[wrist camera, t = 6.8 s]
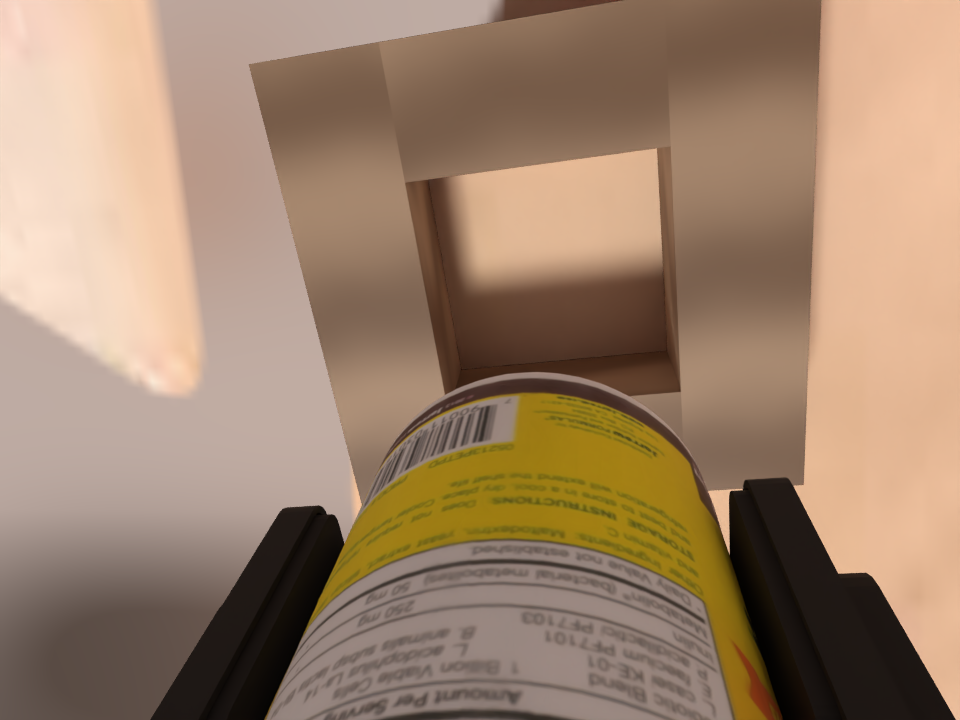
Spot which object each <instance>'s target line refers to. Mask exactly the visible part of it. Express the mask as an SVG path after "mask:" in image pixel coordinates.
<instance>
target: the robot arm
mask: <svg viewBox="0 0 960 720" xmlns="http://www.w3.org/2000/svg"><path fill="white" fill-rule="evenodd" d="M729 526H730V558H731V562H732V565H733V568H734V571H735V574H736V577H737V580H738V583H739V586H740V590H741V593H742V596H743V599H744V602H745V606H746V609H747V612H748V615H749V617H750V620H751V623H752V625H753V627H754V630H755V634H756V637H757V640H758V643H759V646H760V650H761V653H762V657H763V660H764V662H765V665H766V668H767V672H768V675H769V678H770V681H771V685H772V688H773V691H774V694H775V697H776V700H777V703H778V706H779V709H780V712H781V714H782V717H783V720H956V719H955V718H954V716H953V714H952V712H951V711H950V709H949V707H948V705H947V704H946V702H945V700H944V699H943V697H942V695H941V693H940V692H939V690H938V688H937V686H936V685H935V683H934V681H933V679H932V678H931V676H930V674H929V673H928V671H927V669H926V667H925V666H924V664H923V662H922V660H921V659H920V657H919V655H918V653H917V652H916V650H915V648H914V646H913V645H912V643H911V641H910V640H909V638H908V636H907V634H906V633H905V631H904V629H903V627H902V626H901V624H900V622H899V620H898V619H897V617H896V615H895V614H894V612H893V610H892V608H891V607H890V605H889V603H888V601H887V600H886V598H885V596H884V594H883V593H882V591H881V589H880V587H879V586H878V584H877V583H876V582H875V580H874V579H873V577H872V576H870V575H869V574H867V573H848V574H838V573H837V571H836V569H835V567H834V565H833V563H832V561H831V559H830V557H829V555H828V553H827V551H826V549H825V547H824V545H823V543H822V541H821V539H820V538H819V536H818V534H817V532H816V530H815V528H814V526H813V524H812V522H811V520H810V518H809V516H808V514H807V512H806V510H805V508H804V506H803V504H802V502H801V500H800V499H799V497H798V495H797V493H796V491H795V489H794V487H793V485H792V483H791V481H790V480H789V478H786V477H781V478H765V479H748V480H745V481H744V484H743V490H741V491H731V492H730V495H729ZM343 546H344V541H343V537H342V534H341V530H340V526H339V523H338V520H337V518H336V517H335V515H332V514H331V515H327V514H326V511H325V510H324V508H323V507H321V506H304V507H290V508H289V507H288V508H284V509H282V511H280V513H279V514H278V516H277V518H276V519H275V521H274V522H273V524H272V526H271V527H270V529H269V531H268V532H267V534H266V535H265V537H264V538H263V540H262V542H261V543H260V545H259V547H258V548H257V550H256V552H255V553H254V555H253V556H252V558H251V560H250V561H249V563H248V564H247V566H246V568H245V569H244V571H243V573H242V574H241V576H240V577H239V579H238V581H237V582H236V584H235V586H234V587H233V589H232V590H231V592H230V594H229V595H228V597H227V599H226V600H225V602H224V603H223V605H222V606H221V607H220V608H219V610H218V611H217V613H216V614H215V616H214V618H213V620H212V621H211V622H210V624H209V626H208V627H207V629H206V631H205V632H204V634H203V635H202V637H201V639H200V640H199V642H198V643H197V645H196V647H195V648H194V650H193V652H192V653H191V655H190V656H189V658H188V660H187V662H186V663H185V664H184V666H183V668H182V669H181V671H180V673H179V674H178V676H177V677H176V679H175V681H174V682H173V684H172V686H171V687H170V689H169V690H168V692H167V694H166V695H165V697H164V699H163V700H162V702H161V704H160V705H159V707H158V708H157V710H156V711H155V713H154V715H153V716H152V718H151V720H265V717H266V715H267V713H268V711H269V708H270V706H271V704H272V702H273V700H274V697H275V695H276V693H277V691H278V689H279V687H280V684H281V682H282V680H283V678H284V676H285V674H286V672H287V669H288V667H289V665H290V663H291V661H292V659H293V657H294V654H295V652H296V650H297V648H298V645H299V643H300V641H301V639H302V636H303V634H304V632H305V630H306V627H307V625H308V623H309V621H310V618H311V616H312V614H313V612H314V610H315V608H316V606H317V603H318V600H319V598H320V596H321V594H322V592H323V590H324V588H325V585H326V583H327V581H328V579H329V577H330V575H331V573H332V570H333V568H334V566H335V564H336V562H337V559H338V557H339V555H340V553H341V551H342V548H343Z"/></svg>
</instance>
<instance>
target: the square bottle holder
mask: <svg viewBox="0 0 960 720" xmlns="http://www.w3.org/2000/svg"><path fill="white" fill-rule="evenodd" d="M820 18H821V0H622V1H616V2H610V3H604V4H598V5H592V6H587V7H581V8H575V9H569V10H563V11H557V12H552V13H546V14H540V15H534V16H528V17H522V18H517V19H511V20H505V21H499V22H493V23H487V24H482V25H476V26H470V27H464V28H458V29H452V30H447V31H441V32H435V33H429V34H424V35H417V36H412V37H406V38H400V39H395V40H388V41H382V42H377V43H371V44H365V45H359V46H353V47H348V48H342V49H336V50H331V51H325V52H319V53H312V54H307V55H301V56H295V57H289V58H284V59H277V60H272V61H266V62H261V63H254V64H249V67H250V71H251V75H252V79H253V83H254V86H255V90H256V94H257V98H258V102H259V106H260V110H261V114H262V118H263V121H264V125H265V129H266V133H267V137H268V141H269V145H270V149H271V152H272V157H273V160H274V164H275V168H276V172H277V176H278V180H279V184H280V187H281V192H282V195H283V199H284V203H285V207H286V211H287V215H288V219H289V223H290V226H291V230H292V234H293V238H294V242H295V246H296V250H297V254H298V258H299V261H300V266H301V269H302V273H303V277H304V281H305V285H306V289H307V293H308V297H309V301H310V304H311V308H312V312H313V316H314V320H315V324H316V328H317V332H318V335H319V339H320V343H321V347H322V351H323V355H324V359H325V363H326V367H327V370H328V374H329V378H330V382H331V386H332V390H333V394H334V398H335V401H336V406H337V409H338V413H339V417H340V421H341V425H342V429H343V433H344V436H345V440H346V444H347V448H348V452H349V456H350V460H351V464H352V468H353V472H354V476H355V480H356V483H357V487H358V491H359V495H360V499H361V503H362V504H363V502H364V500H365V498H366V496H367V493H368V491H369V489H370V487H371V485H372V482H373V480H374V478H375V475H376V474H377V472H378V470H379V468H380V466H381V464H382V462H383V460H384V458H385V456H386V454H387V452H388V450H389V449H390V447H391V446H392V444H393V443H394V441H395V439H396V438H397V437H398V435H399V434H400V433H401V432H402V431H403V430H404V428H405V427H406V426H407V425H408V424H409V423H410V422H411V421H412V420H413V419H414V418H415V417H416V416H417V415H418V414H419V413H420V412H421V411H423V410H424V409H425V408H426V407H428V406H429V405H430V404H432V403H433V402H435V401H436V400H438V399H439V398H441V397H443V396H444V395H446V394H448V393H450V392H452V391H454V390H456V389H458V388H460V387H463V386H465V385H468V384H470V383H473V382H476V381H479V380H483V379H486V378H490V377H495V376H500V375H504V374H513V373H527V372H545V373H558V374H564V375H570V376H576V377H580V378H584V379H588V380H591V381H595V382H598V383H601V384H603V385H606V386H608V387H611V388H613V389H615V390H617V391H619V392H621V393H623V394H625V395H627V396H629V397H631V398H633V399H634V400H636V401H637V402H639V403H641V404H642V405H644V406H645V407H647V408H648V409H649V410H651V411H652V412H653V413H655V414H656V415H657V416H658V417H659V418H660V419H662V420H663V421H664V422H665V423H666V424H667V425H668V426H669V427H670V428H671V429H672V430H673V431H674V432H675V433H676V435H677V436H678V437H679V438H680V439H681V441H682V442H683V443H684V445H685V446H686V447H687V449H688V450H689V451H690V453H691V455H692V457H693V459H694V460H695V462H696V464H697V466H698V468H699V471H700V473H701V475H702V478H703V480H704V482H705V485H706V488H707V490H708V491H710V490H727V489H743V484H744V481H745V480H748V479H765V478H781V477H786V478H789V480H790V481H791V483H792V485H804V461H805V433H806V406H807V378H808V350H809V323H810V295H811V267H812V240H813V212H814V184H815V157H816V129H817V101H818V74H819V46H820ZM655 148H657V153H658V174H659V194H660V215H661V235H662V255H663V276H664V296H665V316H666V337H667V351H661V352H650V353H639V354H628V355H617V356H606V357H596V358H585V359H574V360H563V361H552V362H541V363H530V364H519V365H508V366H497V367H486V368H476V369H465V370H461V366H460V360H459V354H458V348H457V343H456V337H455V331H454V326H453V320H452V314H451V308H450V303H449V297H448V291H447V286H446V280H445V274H444V269H443V263H442V257H441V251H440V246H439V240H438V234H437V229H436V223H435V217H434V211H433V206H432V200H431V194H430V189H429V183H428V179H436V178H443V177H450V176H458V175H465V174H472V173H480V172H487V171H494V170H501V169H509V168H516V167H523V166H531V165H538V164H545V163H552V162H560V161H567V160H574V159H582V158H589V157H596V156H603V155H611V154H618V153H625V152H633V151H640V150H647V149H655Z"/></svg>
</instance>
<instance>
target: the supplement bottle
mask: <svg viewBox="0 0 960 720" xmlns="http://www.w3.org/2000/svg"><path fill="white" fill-rule="evenodd" d="M265 720H783V717H782V714H781V712H780V709H779V706H778V703H777V700H776V697H775V694H774V691H773V688H772V685H771V681H770V678H769V675H768V672H767V668H766V665H765V662H764V660H763V657H762V653H761V650H760V646H759V643H758V640H757V637H756V634H755V630H754V627H753V625H752V623H751V620H750V617H749V615H748V612H747V609H746V606H745V602H744V599H743V596H742V593H741V590H740V586H739V583H738V580H737V577H736V574H735V571H734V568H733V565H732V562H731V558H730V555H729V552H728V550H727V547H726V544H725V541H724V538H723V535H722V532H721V528H720V525H719V522H718V518H717V515H716V512H715V509H714V506H713V504H712V501H711V498H710V496H709V493H708V490H707V488H706V485H705V482H704V480H703V478H702V475H701V473H700V471H699V468H698V466H697V464H696V462H695V460H694V459H693V457H692V455H691V453H690V451H689V450H688V449H687V447H686V446H685V445H684V443H683V442H682V441H681V439H680V438H679V437H678V436H677V435H676V433H675V432H674V431H673V430H672V429H671V428H670V427H669V426H668V425H667V424H666V423H665V422H664V421H663V420H662V419H660V418H659V417H658V416H657V415H656V414H655V413H653V412H652V411H651V410H649V409H648V408H647V407H645V406H644V405H642V404H641V403H639V402H637V401H636V400H634V399H633V398H631V397H629V396H627V395H625V394H623V393H621V392H619V391H617V390H615V389H613V388H611V387H608V386H606V385H603V384H601V383H598V382H595V381H591V380H588V379H584V378H580V377H576V376H570V375H564V374H558V373H545V372H527V373H513V374H504V375H500V376H495V377H490V378H486V379H483V380H479V381H476V382H473V383H470V384H468V385H465V386H463V387H460V388H458V389H456V390H454V391H452V392H450V393H448V394H446V395H444V396H443V397H441V398H439V399H438V400H436V401H435V402H433V403H432V404H430V405H429V406H428V407H426V408H425V409H424V410H423V411H421V412H420V413H419V414H418V415H417V416H416V417H415V418H414V419H413V420H412V421H411V422H410V423H409V424H408V425H407V426H406V427H405V428H404V430H403V431H402V432H401V433H400V434H399V435H398V437H397V438H396V439H395V441H394V443H393V444H392V446H391V447H390V449H389V450H388V452H387V454H386V456H385V458H384V460H383V462H382V464H381V466H380V468H379V470H378V472H377V474H376V475H375V478H374V480H373V482H372V485H371V487H370V489H369V491H368V493H367V496H366V498H365V500H364V502H363V504H362V507H361V509H360V511H359V513H358V515H357V518H356V520H355V522H354V524H353V526H352V529H351V531H350V533H349V535H348V538H347V540H346V542H345V544H344V546H343V548H342V551H341V553H340V555H339V557H338V559H337V562H336V564H335V566H334V568H333V570H332V573H331V575H330V577H329V579H328V581H327V583H326V585H325V588H324V590H323V592H322V594H321V596H320V598H319V600H318V603H317V606H316V608H315V610H314V612H313V614H312V616H311V618H310V621H309V623H308V625H307V627H306V630H305V632H304V634H303V636H302V639H301V641H300V643H299V645H298V648H297V650H296V652H295V654H294V657H293V659H292V661H291V663H290V665H289V667H288V669H287V672H286V674H285V676H284V678H283V680H282V682H281V684H280V687H279V689H278V691H277V693H276V695H275V697H274V700H273V702H272V704H271V706H270V708H269V711H268V713H267V715H266V717H265Z"/></svg>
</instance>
